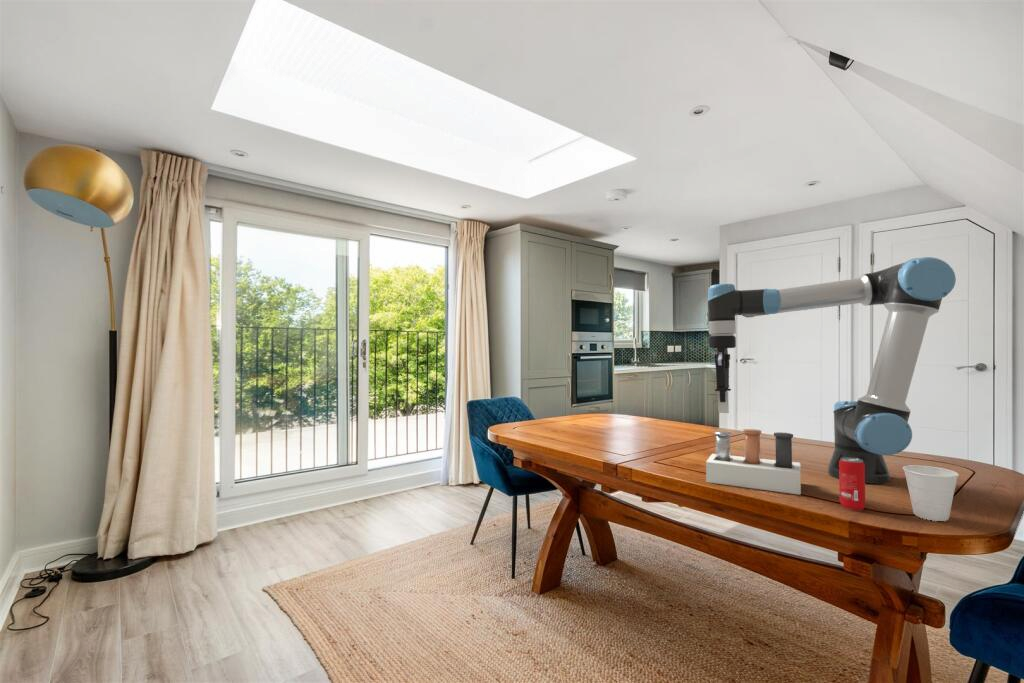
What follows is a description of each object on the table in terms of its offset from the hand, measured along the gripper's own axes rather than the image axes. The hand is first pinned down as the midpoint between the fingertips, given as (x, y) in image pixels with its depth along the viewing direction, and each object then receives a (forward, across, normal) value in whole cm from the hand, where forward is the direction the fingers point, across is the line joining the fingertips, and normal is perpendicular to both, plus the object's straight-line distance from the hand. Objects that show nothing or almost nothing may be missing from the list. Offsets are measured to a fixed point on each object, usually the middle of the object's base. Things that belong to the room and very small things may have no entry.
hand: (723, 412), depth 142 cm
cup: (+21, +10, +46) cm, 51 cm away
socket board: (+20, 0, +8) cm, 22 cm away
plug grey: (+16, 0, 0) cm, 16 cm away
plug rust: (+15, 0, +8) cm, 16 cm away
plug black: (+15, 0, +16) cm, 22 cm away
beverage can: (+21, +11, +31) cm, 39 cm away
